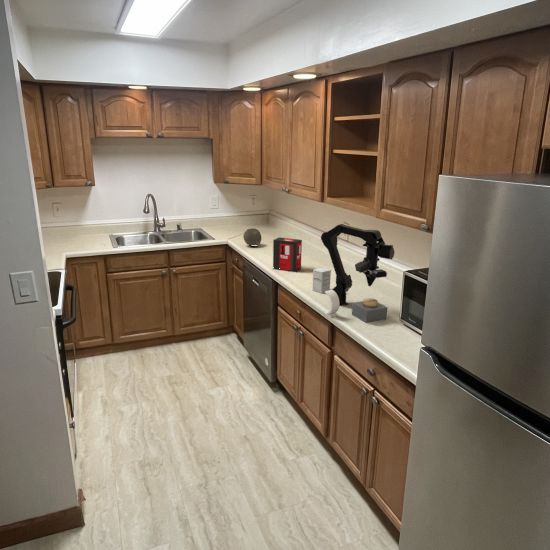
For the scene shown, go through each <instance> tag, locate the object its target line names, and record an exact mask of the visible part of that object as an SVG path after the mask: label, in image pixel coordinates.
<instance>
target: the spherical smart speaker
mask: <svg viewBox="0 0 550 550" xmlns="http://www.w3.org/2000/svg"><path fill="white" fill-rule="evenodd" d="M242 238H243V240H244V243H245V244H247V245H248V244H249V245H258V246H260V245H261V242H262V234H261V232H260V231H259V229H257V228H255V227H254V228H253V227H251V228H248V229H246V230H245V231H244V233H243V237H242ZM249 245H248V246H249Z"/></svg>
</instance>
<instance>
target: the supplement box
mask: <svg viewBox="0 0 550 550" xmlns="http://www.w3.org/2000/svg"><path fill="white" fill-rule="evenodd" d="M312 270H313V272H312V291H315V292H317V293H320V294H325V291H329V290H331V276H332V275H331V274H332V270H331V269H327V268H325V267H317V268H315V269H312Z"/></svg>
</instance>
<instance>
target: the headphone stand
mask: <svg viewBox="0 0 550 550" xmlns="http://www.w3.org/2000/svg"><path fill="white" fill-rule="evenodd" d="M324 294H326V295H327V296H328V298H329V301H330V303H331V304H330V310H329V311H324V312H323V315H325V316H327V317H329V318H334V317H337V316H338V313H337V312H338V311H339V309H340V305H339V298H338V295H337V294H336V292H335V291H333V290H332V289H330V290H329V291H325V292H324Z"/></svg>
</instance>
